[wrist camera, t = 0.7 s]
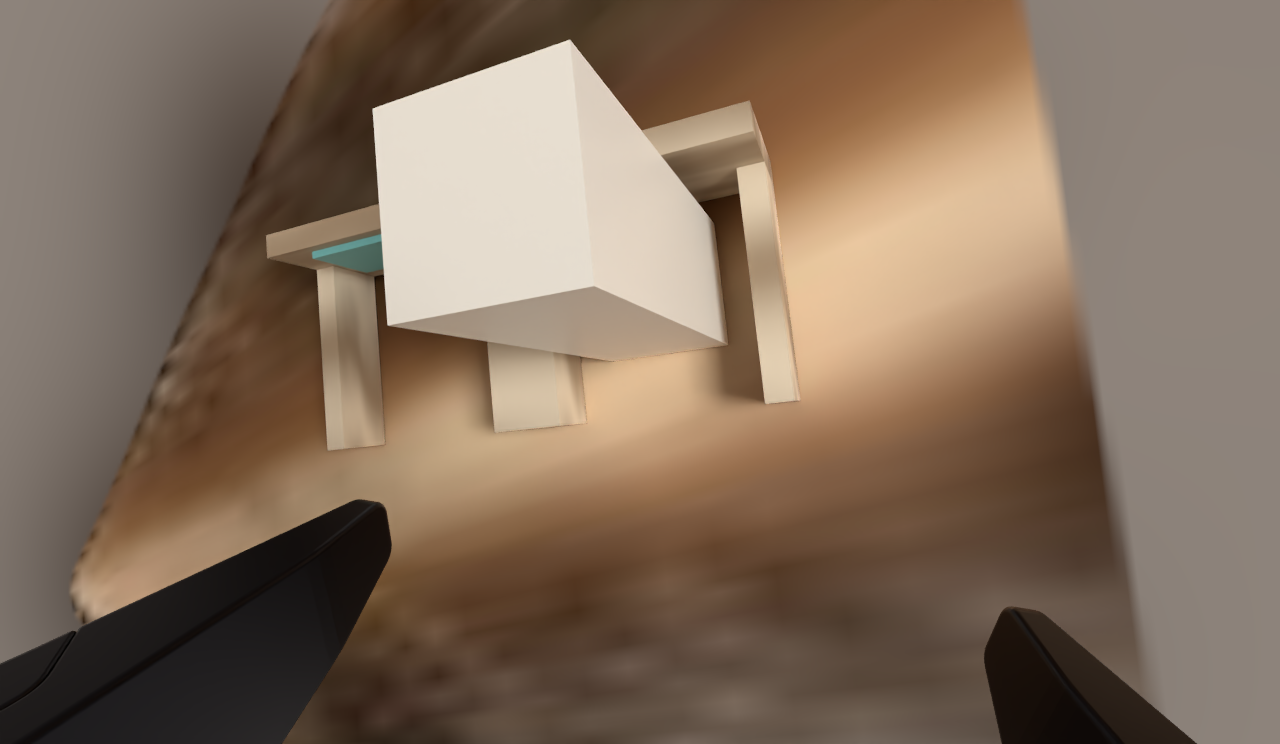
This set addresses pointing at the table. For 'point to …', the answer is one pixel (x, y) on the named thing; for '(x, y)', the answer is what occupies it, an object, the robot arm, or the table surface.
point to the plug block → (541, 218)
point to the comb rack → (523, 377)
